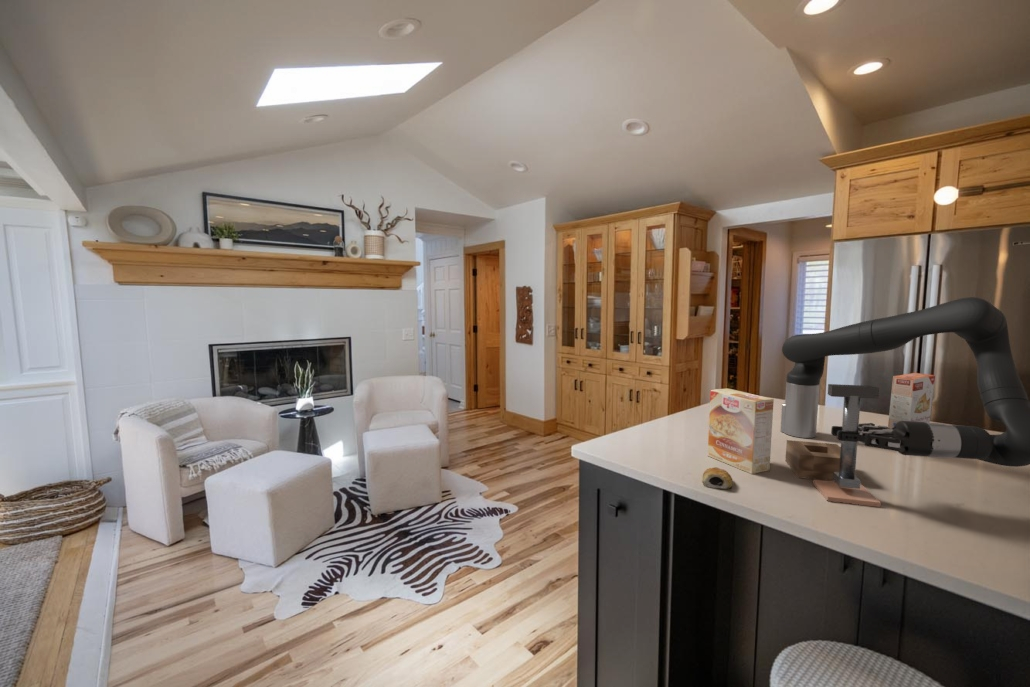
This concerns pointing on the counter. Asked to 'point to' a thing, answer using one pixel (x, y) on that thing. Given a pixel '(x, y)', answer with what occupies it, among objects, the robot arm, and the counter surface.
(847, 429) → the key
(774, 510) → the counter surface
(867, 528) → the counter surface
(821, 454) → the block
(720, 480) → the pastry
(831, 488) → the pad
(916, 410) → the cracker box
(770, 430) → the coffeecake box
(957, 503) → the counter surface
